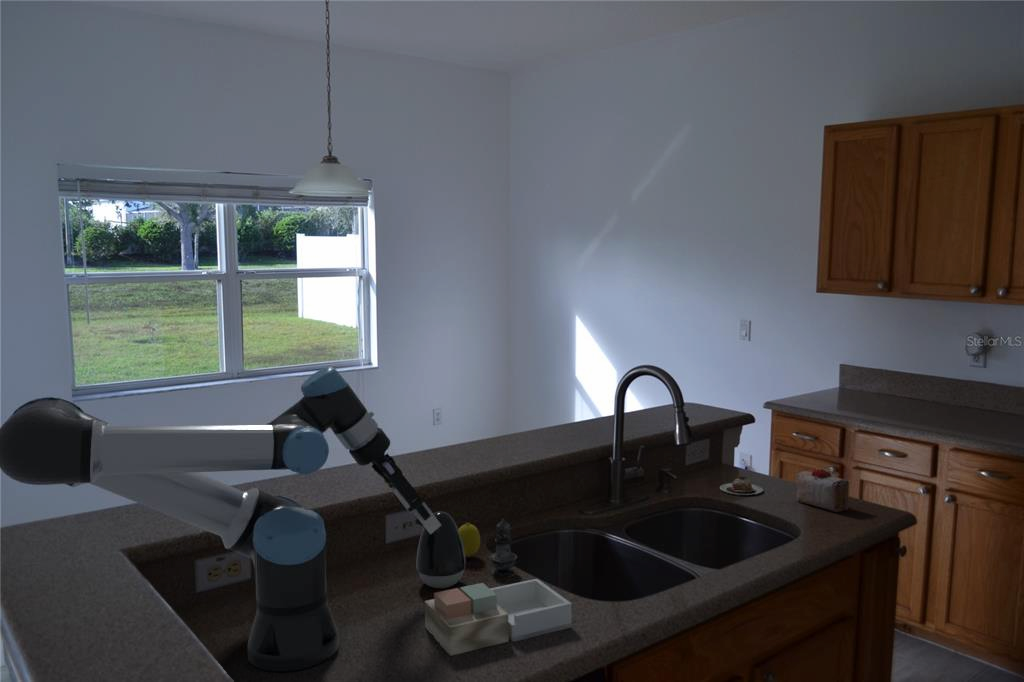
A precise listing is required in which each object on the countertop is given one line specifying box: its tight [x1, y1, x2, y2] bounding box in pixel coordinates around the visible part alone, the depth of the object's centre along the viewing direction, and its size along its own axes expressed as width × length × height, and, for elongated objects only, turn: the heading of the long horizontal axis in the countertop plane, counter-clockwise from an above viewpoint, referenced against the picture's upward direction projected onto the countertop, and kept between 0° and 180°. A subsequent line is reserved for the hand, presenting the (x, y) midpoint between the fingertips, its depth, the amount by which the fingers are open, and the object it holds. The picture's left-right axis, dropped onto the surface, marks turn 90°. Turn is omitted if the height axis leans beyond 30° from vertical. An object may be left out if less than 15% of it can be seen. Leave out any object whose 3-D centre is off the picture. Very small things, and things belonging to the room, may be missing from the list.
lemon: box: [458, 522, 481, 558], centre depth 178 cm, size 6×6×8 cm
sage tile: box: [459, 582, 497, 613], centre depth 142 cm, size 4×6×2 cm
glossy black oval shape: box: [414, 511, 467, 589], centre depth 163 cm, size 10×10×15 cm
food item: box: [795, 468, 850, 513], centre depth 214 cm, size 14×8×10 cm, turn 33°
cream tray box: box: [424, 598, 510, 656], centre depth 141 cm, size 11×12×5 cm
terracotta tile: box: [433, 587, 471, 619], centre depth 140 cm, size 4×6×2 cm
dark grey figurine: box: [489, 518, 518, 579], centre depth 169 cm, size 6×6×12 cm
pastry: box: [719, 475, 764, 497], centre depth 229 cm, size 12×12×5 cm
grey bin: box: [490, 578, 573, 643], centre depth 146 cm, size 12×13×4 cm
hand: (425, 518), depth 159 cm, fingers open, 13 cm apart
